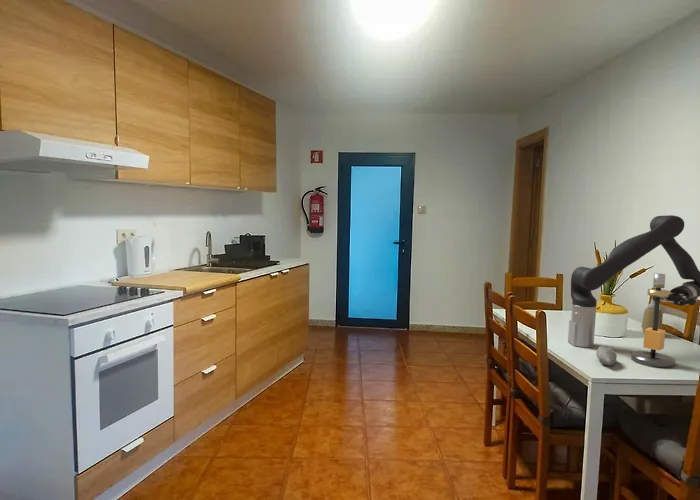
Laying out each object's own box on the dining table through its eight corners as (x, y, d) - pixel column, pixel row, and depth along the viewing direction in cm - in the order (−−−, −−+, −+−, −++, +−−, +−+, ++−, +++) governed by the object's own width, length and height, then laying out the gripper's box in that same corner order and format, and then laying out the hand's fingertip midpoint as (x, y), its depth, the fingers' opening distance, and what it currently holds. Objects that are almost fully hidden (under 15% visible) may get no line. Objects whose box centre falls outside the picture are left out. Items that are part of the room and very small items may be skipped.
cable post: (666, 370, 167) (675, 278, 164) (625, 360, 178) (631, 273, 175) (680, 363, 176) (688, 275, 172) (639, 353, 187) (646, 270, 183)
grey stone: (598, 360, 168) (603, 339, 170) (592, 363, 180) (597, 344, 182) (617, 367, 166) (622, 345, 167) (610, 369, 178) (615, 349, 179)
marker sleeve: (658, 350, 173) (660, 332, 172) (643, 347, 177) (644, 329, 176) (663, 348, 176) (665, 330, 175) (648, 344, 180) (649, 327, 179)
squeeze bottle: (655, 338, 210) (658, 299, 208) (637, 333, 217) (640, 295, 215) (665, 336, 213) (668, 297, 212) (647, 331, 221) (650, 294, 219)
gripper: (663, 283, 196) (647, 289, 187) (704, 288, 185) (689, 294, 175) (663, 301, 197) (647, 308, 188) (703, 306, 186) (688, 314, 176)
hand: (667, 301), depth 182 cm, fingers open, 8 cm apart
